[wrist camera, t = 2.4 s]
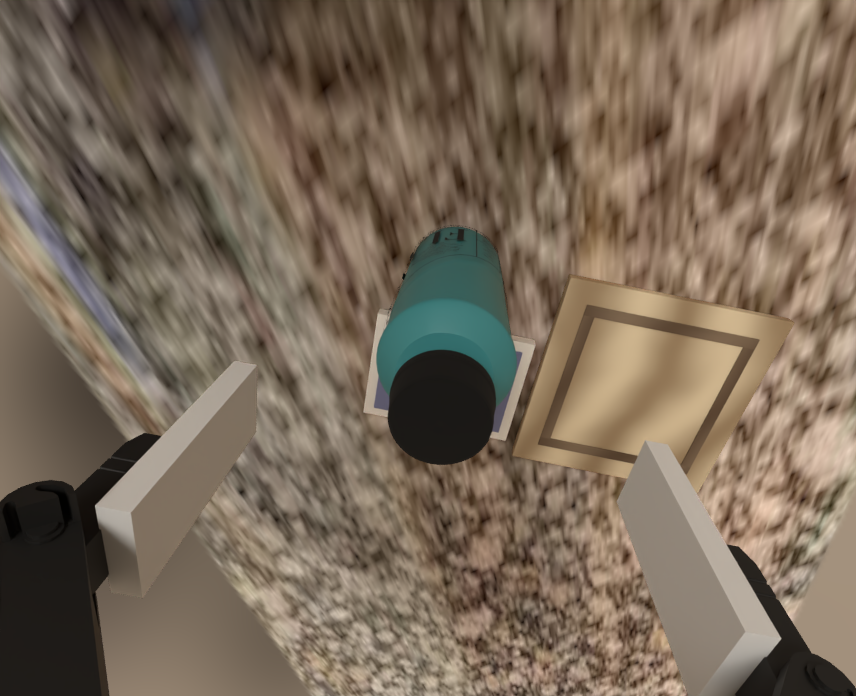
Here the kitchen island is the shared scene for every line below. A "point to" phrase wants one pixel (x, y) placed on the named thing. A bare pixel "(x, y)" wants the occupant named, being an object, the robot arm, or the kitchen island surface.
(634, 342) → the mark board
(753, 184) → the kitchen island surface
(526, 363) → the ink pad
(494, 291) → the beverage bottle
